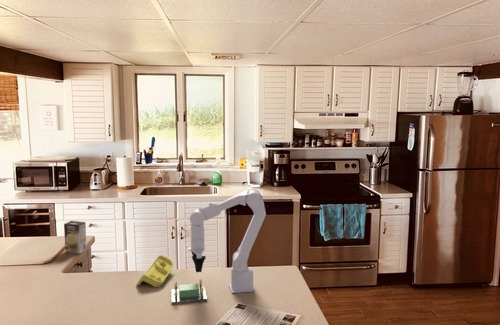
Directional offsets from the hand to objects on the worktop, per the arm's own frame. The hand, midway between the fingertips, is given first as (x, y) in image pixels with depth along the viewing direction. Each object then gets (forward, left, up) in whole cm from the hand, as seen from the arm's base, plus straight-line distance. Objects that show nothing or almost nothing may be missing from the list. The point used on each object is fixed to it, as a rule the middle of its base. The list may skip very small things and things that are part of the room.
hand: (197, 268), depth 161 cm
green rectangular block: (+4, +6, -8) cm, 11 cm away
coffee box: (+62, -56, -10) cm, 84 cm away
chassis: (+4, +6, -9) cm, 12 cm away
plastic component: (+18, -14, -10) cm, 24 cm away
